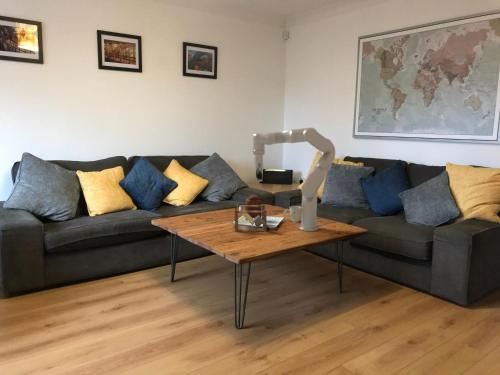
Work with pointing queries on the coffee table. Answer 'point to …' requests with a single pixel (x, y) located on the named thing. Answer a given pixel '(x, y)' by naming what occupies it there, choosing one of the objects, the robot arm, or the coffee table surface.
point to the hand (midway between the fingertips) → (259, 178)
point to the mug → (294, 213)
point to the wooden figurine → (253, 201)
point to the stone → (258, 221)
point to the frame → (247, 228)
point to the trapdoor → (246, 215)
